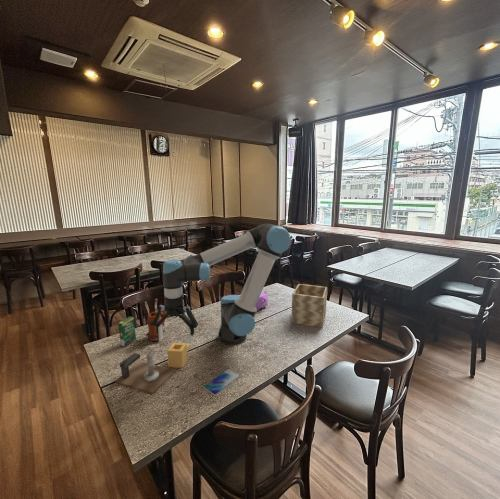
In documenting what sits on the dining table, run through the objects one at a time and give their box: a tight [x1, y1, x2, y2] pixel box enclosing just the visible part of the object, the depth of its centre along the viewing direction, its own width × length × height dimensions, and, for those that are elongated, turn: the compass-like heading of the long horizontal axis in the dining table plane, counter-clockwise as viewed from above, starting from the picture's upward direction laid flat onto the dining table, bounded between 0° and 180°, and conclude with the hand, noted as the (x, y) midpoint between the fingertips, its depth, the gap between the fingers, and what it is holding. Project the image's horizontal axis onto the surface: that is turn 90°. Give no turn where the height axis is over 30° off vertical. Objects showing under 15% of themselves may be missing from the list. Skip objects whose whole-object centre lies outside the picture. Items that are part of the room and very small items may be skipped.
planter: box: [290, 283, 328, 328], centre depth 165 cm, size 18×19×18 cm
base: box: [114, 352, 176, 395], centre depth 113 cm, size 19×14×12 cm
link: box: [167, 342, 191, 369], centre depth 127 cm, size 16×6×8 cm, turn 174°
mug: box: [145, 308, 166, 342], centre depth 145 cm, size 15×8×15 cm, turn 168°
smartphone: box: [203, 368, 241, 396], centre depth 111 cm, size 7×1×15 cm
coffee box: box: [117, 315, 137, 348], centre depth 139 cm, size 8×3×13 cm, turn 159°
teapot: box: [256, 289, 269, 311], centre depth 182 cm, size 15×13×11 cm
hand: (175, 340), depth 121 cm, fingers open, 13 cm apart
